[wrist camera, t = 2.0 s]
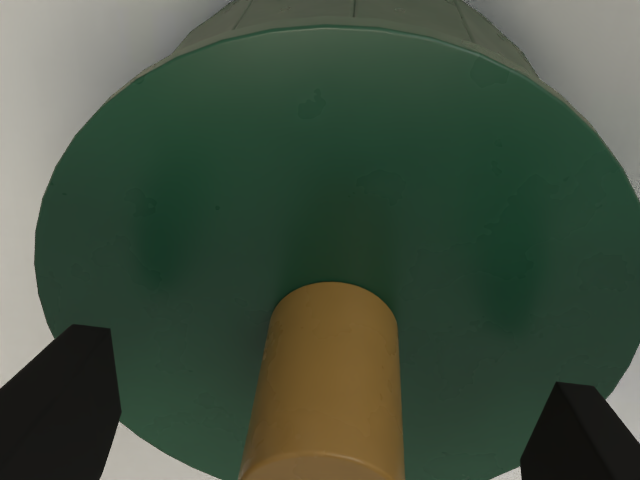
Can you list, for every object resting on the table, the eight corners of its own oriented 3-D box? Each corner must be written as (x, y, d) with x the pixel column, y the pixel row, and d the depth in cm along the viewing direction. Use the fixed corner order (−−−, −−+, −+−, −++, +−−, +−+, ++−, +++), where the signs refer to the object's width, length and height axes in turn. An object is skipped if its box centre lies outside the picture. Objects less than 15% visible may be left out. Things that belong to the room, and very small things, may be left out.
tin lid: (764, 256, 11) (969, 487, 7) (379, 516, 17) (381, 725, 13) (246, -174, 8) (129, -163, 4) (-18, 322, 14) (-172, 522, 10)
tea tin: (638, 144, 15) (747, 279, 11) (376, 371, 20) (377, 525, 16) (293, -144, 12) (248, -121, 8) (88, 206, 17) (-8, 339, 13)
